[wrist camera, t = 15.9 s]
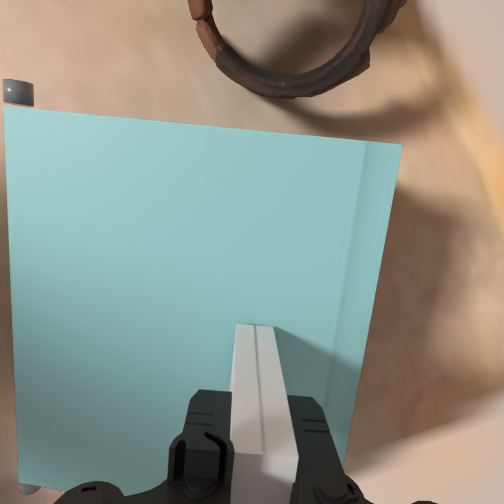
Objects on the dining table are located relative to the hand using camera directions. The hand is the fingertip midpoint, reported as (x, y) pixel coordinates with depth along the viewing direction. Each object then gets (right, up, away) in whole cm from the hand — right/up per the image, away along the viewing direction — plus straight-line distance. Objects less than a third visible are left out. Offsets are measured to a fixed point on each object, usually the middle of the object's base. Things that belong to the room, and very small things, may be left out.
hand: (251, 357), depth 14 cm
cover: (-3, +1, +1) cm, 3 cm away
